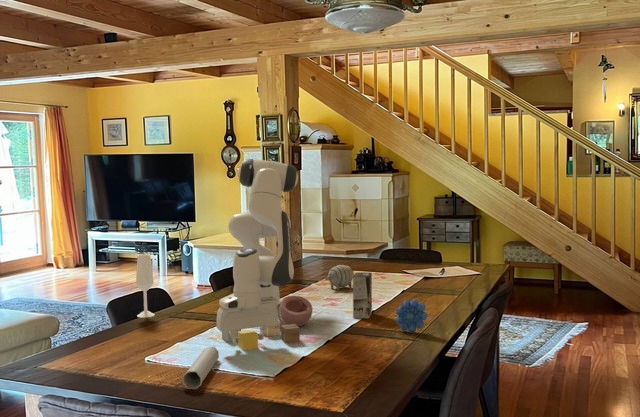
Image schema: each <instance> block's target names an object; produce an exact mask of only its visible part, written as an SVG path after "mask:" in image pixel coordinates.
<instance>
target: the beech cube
mask: <svg viewBox="0 0 640 417" xmlns="http://www.w3.org/2000/svg"><path fill="white" fill-rule="evenodd" d="M259 328H260V332H261V330H262V328H261V327H259ZM260 332H259V333H260ZM277 334H279V335H281V320H279V319H278V323H277V324H276V325H269V326H267V330H266V331H265V333H264V336H265V337H268V336H269V337H273V335H274V336H278V335H277ZM269 337H268V338H269Z"/></svg>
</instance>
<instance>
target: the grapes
mask: <svg viewBox="0 0 640 417" xmlns="http://www.w3.org/2000/svg"><path fill="white" fill-rule="evenodd" d="M419 302H420V301H419V300H418V299H417V298H416V299H415V298H414V299H412V300H410V301H409V300H407V299H406V300H404V301H403V302H402V304H401V306H399V307H397V308H396V312H395V314H396V315H397V316H396V317H395V323H396V324H397V325H400V326H399V329H400V330H401V331H403V332H405V331H408V332H409V333H411V334H412V333H415V332H416V331H417V329H422V328H423V327H424V326H425V322H424V321H425V320H427V318H428V316H429V314H428V313H427V312H426V311H425V310H426V305H425V304H424V303H419Z"/></svg>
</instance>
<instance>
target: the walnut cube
mask: <svg viewBox="0 0 640 417" xmlns="http://www.w3.org/2000/svg"><path fill="white" fill-rule="evenodd" d="M300 329H301V328H300V326H297V325H296V324H290V325H288V324H280V335H281V337H280V338H281V339H282V340H281V341H282V342H283V343H284V344H285V345H287V344H296V343H297V344H298V343H300V338H301V337H300V336H301V335H300V331H301V330H300Z"/></svg>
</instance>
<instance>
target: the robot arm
mask: <svg viewBox="0 0 640 417" xmlns="http://www.w3.org/2000/svg"><path fill="white" fill-rule="evenodd" d="M237 176H238V181H239V182H238V183H240V185H241V186H244V187H246V188H250V193H249V202H248V210H249V211H248V212H247V211H246V212H240V213H236V214H232V215H231V217H230V218H229V221H228V226H227V228H228V231H229V233H230V235H231V236H232V237H233V238H234V239H235V240H236V241H238V242H239V243H240V244H241V245H242V247H243V248H241V249H238V250H236V252H235V253H234V256H233V265H232V267H233V268H232V278H233V282H234V284H233V285H234V286H233V293H230V294H229V295H227V296H224V297H222V298H220V299H219V301H218V304H219V306H220V307H219V308H218V309H217V312H216V328H217V330H218V331H220V332H221V333H222V332H225V331H229V333H230V335H231V336H232V337H233V341H232V343H233V344H238V343H239V341H238V340H239V338H238V337H235V335H234V334H233V333H235V330H240V329H241V330H245V329H247V330H248V329H254V328H260V327H261V328H262V330H261V332H259V333H258V341H261V340H264V338H265V337H264V336H265V335H264V333H265V331H266V330H267V326H269V325H276V324H277V323H278V320H279V314H278V306H280V304H281V302H282V300H283V299H281V298H280V287H283V288H284V287H285V286H287V285H289V284H290V283H291V282H292V281H293V278H294V274H295V273H294V272H295V270H294V268H295V267H294V263H293V253H292V252H293V251H292V238H291V236H292V235H291V227H292V226H291V224H292V221H291V219H290V216H289V215H288V213H287V212H286V211H285V210H284V209H283V208H282V195H283V193H292V191H293V190H295V188H296V186H297V185H298V182H299V174H298V170H297V168H296V166H294V165H293V164H291V163H290V164H289V163H287V164H286V163H283V162H279V161H275V160H265V159H253V158H246V159H244V160H242V162H241V163H240V165H239V168H238V172H237ZM282 192H283V193H282ZM274 238H276V239H277V250H278V252H277V254H276V255H274V252H273V250H271V249H270V248H268V247H266V246H265V245H262V244H261V243H260V239H274Z"/></svg>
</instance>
